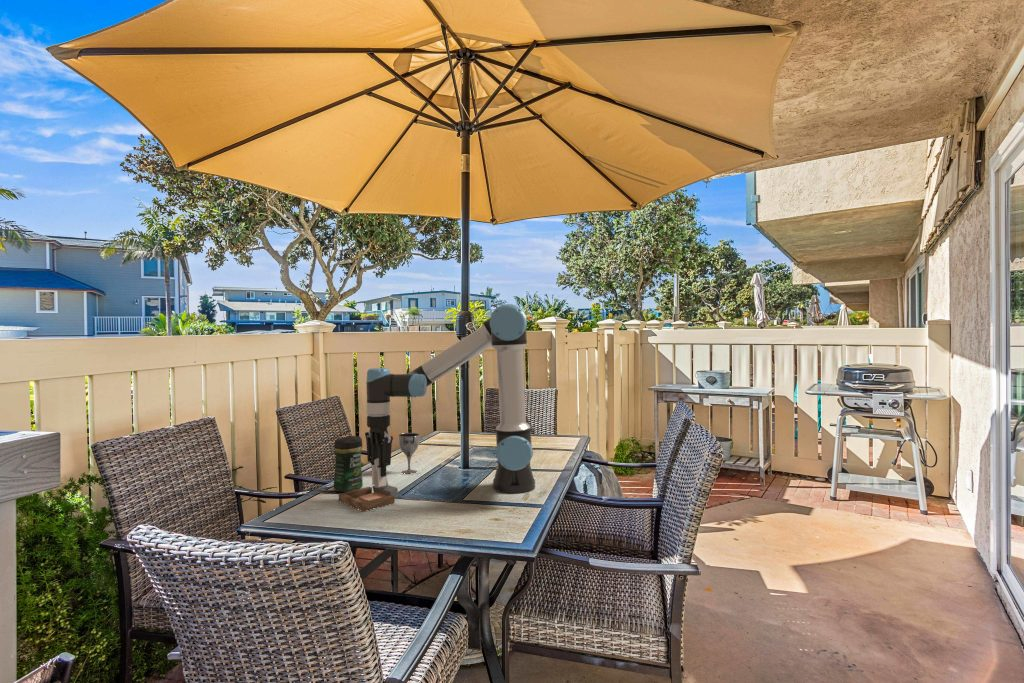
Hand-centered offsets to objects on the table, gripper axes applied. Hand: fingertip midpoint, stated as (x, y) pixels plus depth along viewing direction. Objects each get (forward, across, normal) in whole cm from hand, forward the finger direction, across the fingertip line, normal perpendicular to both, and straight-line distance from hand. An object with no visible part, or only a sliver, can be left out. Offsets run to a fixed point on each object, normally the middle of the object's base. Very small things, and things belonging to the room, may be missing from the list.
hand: (379, 484), depth 182 cm
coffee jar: (+5, +18, +1) cm, 19 cm away
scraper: (+4, 0, -3) cm, 5 cm away
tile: (+5, 0, +2) cm, 6 cm away
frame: (+5, 0, +4) cm, 6 cm away
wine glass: (+5, +21, -27) cm, 35 cm away
